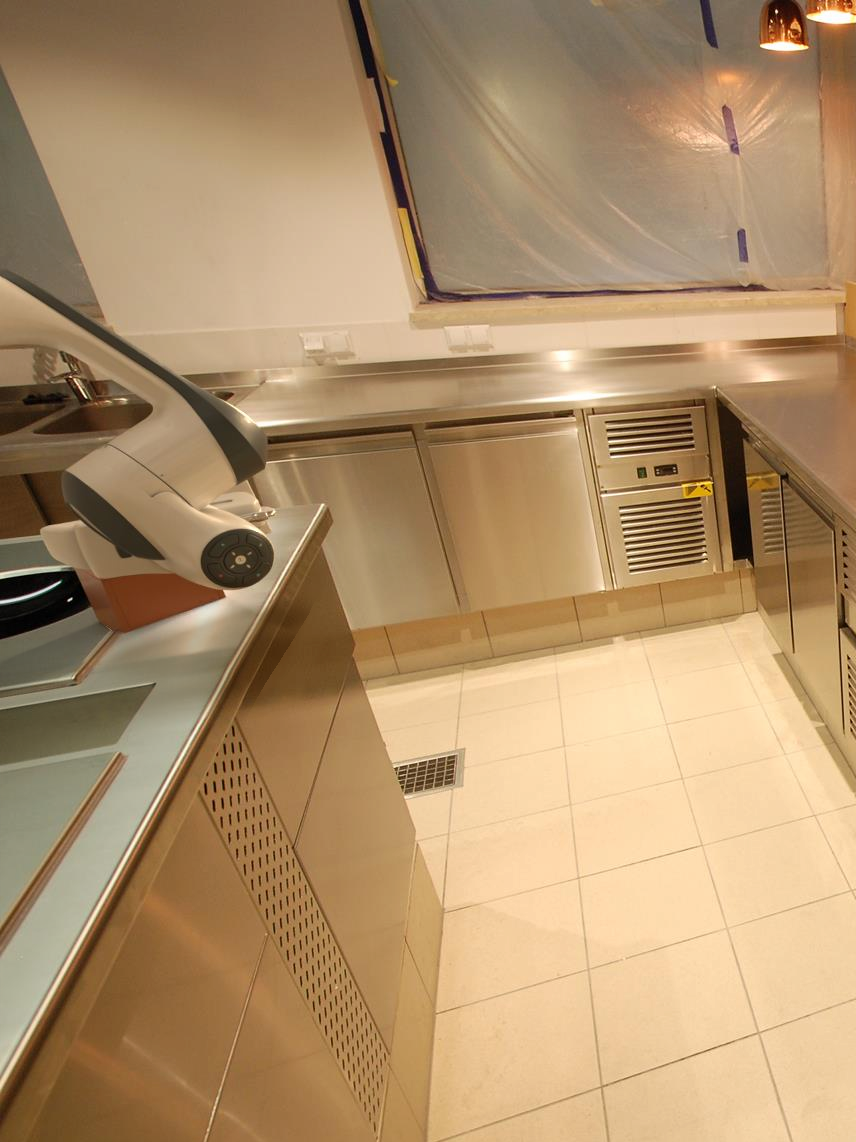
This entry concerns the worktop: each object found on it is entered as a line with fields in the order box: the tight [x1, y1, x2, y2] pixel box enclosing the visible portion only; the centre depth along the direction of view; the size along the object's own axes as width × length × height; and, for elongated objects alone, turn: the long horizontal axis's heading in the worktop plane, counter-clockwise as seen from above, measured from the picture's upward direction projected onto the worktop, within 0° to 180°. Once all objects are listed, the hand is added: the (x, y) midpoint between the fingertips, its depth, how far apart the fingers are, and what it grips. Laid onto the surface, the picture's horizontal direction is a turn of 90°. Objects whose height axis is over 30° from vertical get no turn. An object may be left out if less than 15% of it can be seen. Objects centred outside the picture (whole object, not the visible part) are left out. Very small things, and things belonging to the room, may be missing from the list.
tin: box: [73, 567, 227, 634], centre depth 114 cm, size 10×11×9 cm
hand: (138, 514), depth 107 cm, fingers open, 8 cm apart
